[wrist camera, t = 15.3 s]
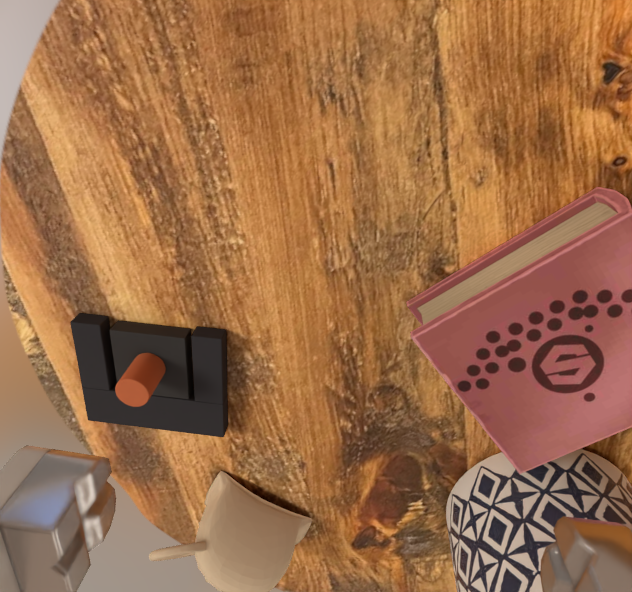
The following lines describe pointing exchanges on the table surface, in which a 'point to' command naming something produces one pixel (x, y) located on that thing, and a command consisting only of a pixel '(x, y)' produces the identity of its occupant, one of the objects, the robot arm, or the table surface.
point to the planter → (525, 516)
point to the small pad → (162, 346)
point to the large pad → (159, 412)
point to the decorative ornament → (241, 539)
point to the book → (541, 332)
